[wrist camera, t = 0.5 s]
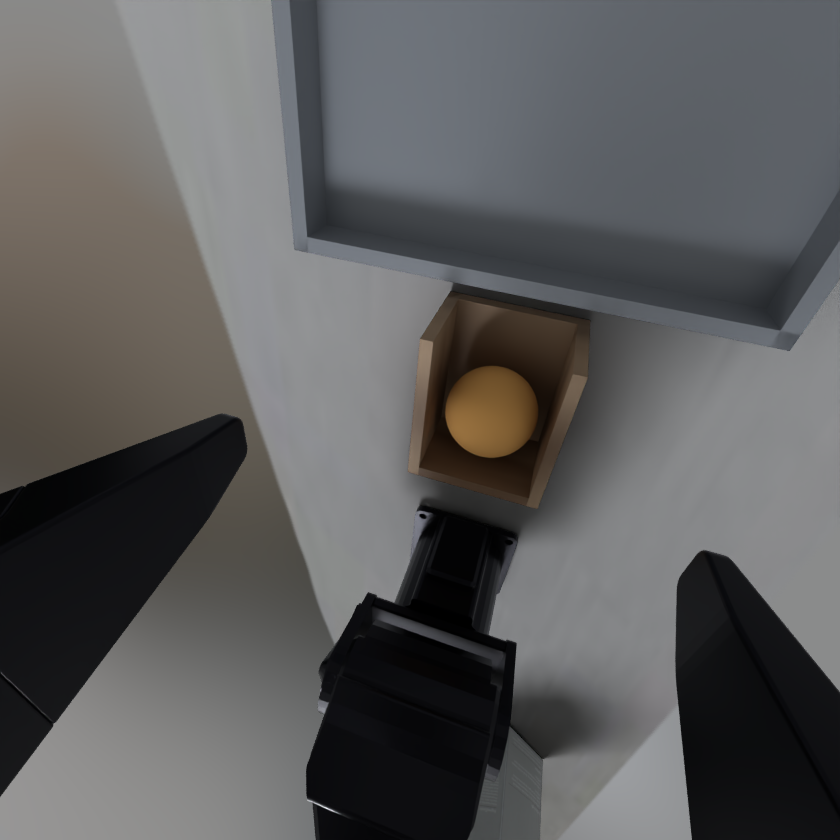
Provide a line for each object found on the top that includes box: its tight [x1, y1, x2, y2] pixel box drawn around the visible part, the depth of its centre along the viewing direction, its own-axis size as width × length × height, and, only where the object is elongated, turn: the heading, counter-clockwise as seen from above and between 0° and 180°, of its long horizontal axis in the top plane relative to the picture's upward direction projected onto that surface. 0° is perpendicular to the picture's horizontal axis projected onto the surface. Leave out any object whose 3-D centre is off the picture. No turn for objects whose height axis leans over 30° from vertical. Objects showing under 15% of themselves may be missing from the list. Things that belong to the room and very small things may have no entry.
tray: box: [271, 0, 840, 351], centre depth 13 cm, size 15×18×2 cm
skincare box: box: [468, 727, 543, 840], centre depth 42 cm, size 8×7×16 cm
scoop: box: [408, 291, 590, 509], centre depth 20 cm, size 7×6×4 cm
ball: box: [445, 366, 538, 458], centre depth 20 cm, size 4×4×4 cm
